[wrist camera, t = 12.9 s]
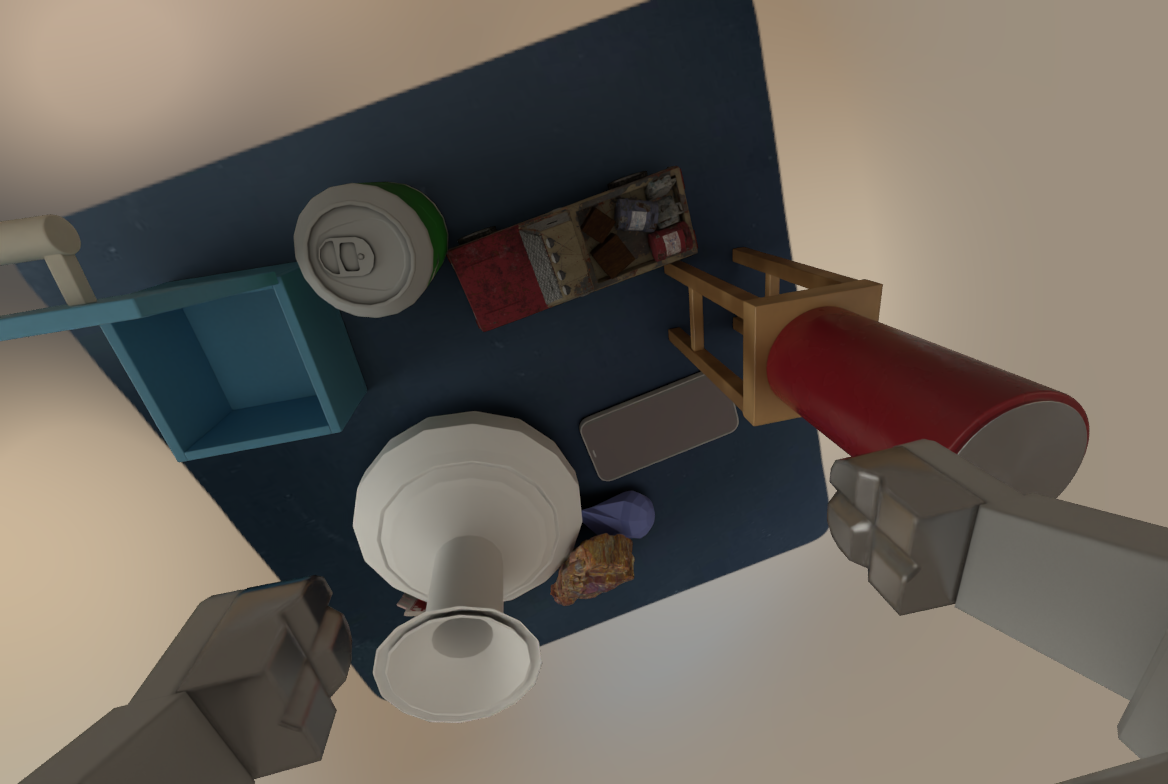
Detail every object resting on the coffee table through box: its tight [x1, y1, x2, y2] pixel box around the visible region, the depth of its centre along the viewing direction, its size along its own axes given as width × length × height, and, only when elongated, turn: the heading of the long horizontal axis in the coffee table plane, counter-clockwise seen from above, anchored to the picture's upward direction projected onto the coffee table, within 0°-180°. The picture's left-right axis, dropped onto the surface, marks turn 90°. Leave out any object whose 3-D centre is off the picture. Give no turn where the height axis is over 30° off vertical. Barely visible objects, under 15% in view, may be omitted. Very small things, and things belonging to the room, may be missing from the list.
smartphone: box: [579, 372, 739, 481], centre depth 48 cm, size 7×1×15 cm
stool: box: [664, 247, 883, 426], centre depth 36 cm, size 8×8×17 cm
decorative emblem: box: [397, 593, 427, 616], centre depth 49 cm, size 10×1×10 cm
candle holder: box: [353, 411, 582, 723], centre depth 39 cm, size 20×20×19 cm
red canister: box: [767, 306, 1089, 499], centre depth 23 cm, size 6×6×12 cm
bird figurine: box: [581, 491, 655, 538], centre depth 49 cm, size 8×6×6 cm
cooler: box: [100, 262, 367, 462], centre depth 36 cm, size 11×11×8 cm
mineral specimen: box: [551, 533, 634, 606], centre depth 48 cm, size 12×8×7 cm, turn 150°
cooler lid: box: [0, 214, 278, 341], centre depth 24 cm, size 12×11×4 cm
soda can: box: [294, 182, 448, 318], centre depth 33 cm, size 8×8×12 cm
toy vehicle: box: [446, 166, 698, 332], centre depth 37 cm, size 7×18×8 cm, turn 108°
